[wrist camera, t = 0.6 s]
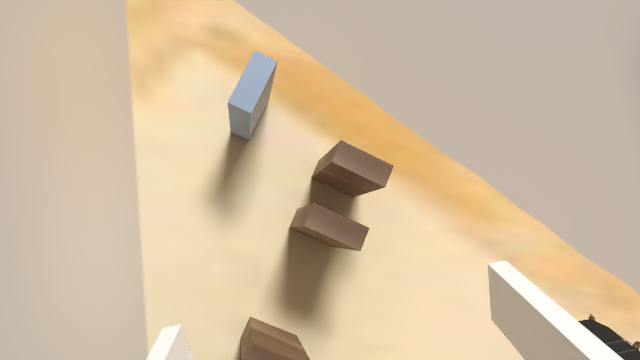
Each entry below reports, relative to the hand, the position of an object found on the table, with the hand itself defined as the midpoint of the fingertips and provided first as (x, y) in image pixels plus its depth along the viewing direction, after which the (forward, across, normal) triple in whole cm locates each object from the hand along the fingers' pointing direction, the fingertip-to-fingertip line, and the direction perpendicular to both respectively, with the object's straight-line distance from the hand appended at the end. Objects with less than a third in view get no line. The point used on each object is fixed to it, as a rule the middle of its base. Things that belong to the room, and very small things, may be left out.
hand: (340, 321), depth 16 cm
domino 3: (+25, -2, +1) cm, 25 cm away
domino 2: (+18, +7, +13) cm, 23 cm away
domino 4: (+22, +1, +5) cm, 23 cm away
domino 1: (+26, +5, -8) cm, 27 cm away
